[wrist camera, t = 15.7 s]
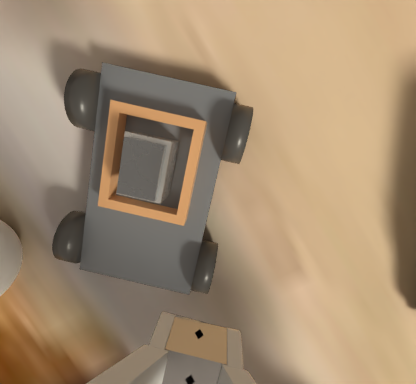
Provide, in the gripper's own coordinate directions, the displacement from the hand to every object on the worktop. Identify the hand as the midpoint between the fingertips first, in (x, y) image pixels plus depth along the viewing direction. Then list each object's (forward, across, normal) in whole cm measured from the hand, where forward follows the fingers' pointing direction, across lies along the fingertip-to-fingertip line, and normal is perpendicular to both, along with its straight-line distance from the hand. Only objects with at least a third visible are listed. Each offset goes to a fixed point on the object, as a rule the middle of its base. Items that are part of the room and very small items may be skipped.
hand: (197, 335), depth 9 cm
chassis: (+22, +8, 0) cm, 23 cm away
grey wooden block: (+18, +8, -3) cm, 20 cm away
